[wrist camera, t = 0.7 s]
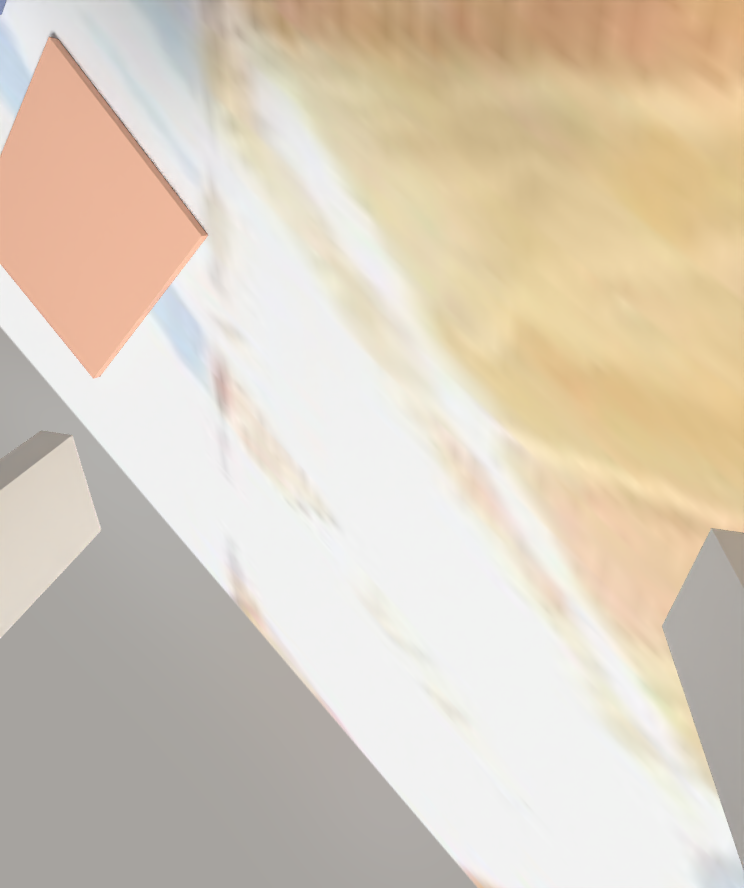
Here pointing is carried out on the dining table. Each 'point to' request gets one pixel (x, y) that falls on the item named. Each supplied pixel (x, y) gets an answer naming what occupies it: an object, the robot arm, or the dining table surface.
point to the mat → (86, 214)
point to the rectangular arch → (2, 5)
